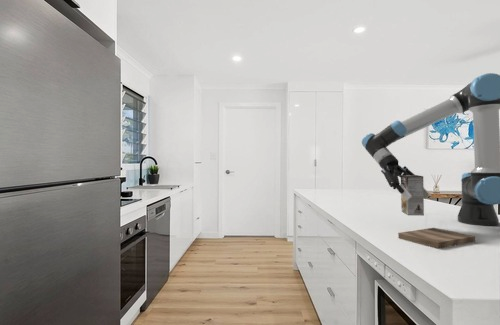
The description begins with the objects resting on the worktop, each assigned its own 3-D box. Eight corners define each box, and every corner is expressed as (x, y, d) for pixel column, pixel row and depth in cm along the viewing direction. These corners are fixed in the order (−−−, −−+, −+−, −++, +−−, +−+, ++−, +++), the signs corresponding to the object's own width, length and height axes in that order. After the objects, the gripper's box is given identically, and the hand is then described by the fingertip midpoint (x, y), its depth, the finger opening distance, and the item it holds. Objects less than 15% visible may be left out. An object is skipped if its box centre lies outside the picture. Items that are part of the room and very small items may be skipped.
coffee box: (400, 211, 128) (399, 175, 128) (416, 212, 126) (415, 174, 126) (407, 215, 119) (406, 175, 119) (425, 215, 117) (424, 175, 117)
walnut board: (434, 232, 117) (433, 227, 117) (475, 241, 104) (475, 236, 104) (398, 238, 110) (398, 232, 110) (438, 248, 96) (437, 242, 96)
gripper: (398, 165, 141) (431, 201, 127) (363, 166, 132) (393, 205, 118) (408, 153, 136) (443, 190, 122) (371, 154, 127) (404, 193, 113)
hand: (418, 197), depth 120 cm, fingers closed on coffee box, 10 cm apart
